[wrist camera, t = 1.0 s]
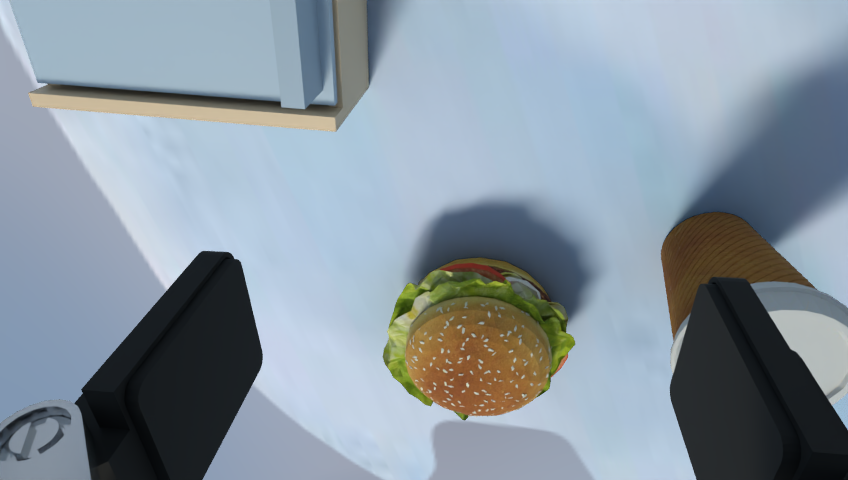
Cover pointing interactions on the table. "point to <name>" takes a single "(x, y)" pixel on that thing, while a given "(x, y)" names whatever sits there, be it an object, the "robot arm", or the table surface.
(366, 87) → the mailer box
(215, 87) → the lid
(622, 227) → the table surface
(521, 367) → the food
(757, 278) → the disposable coffee cup
